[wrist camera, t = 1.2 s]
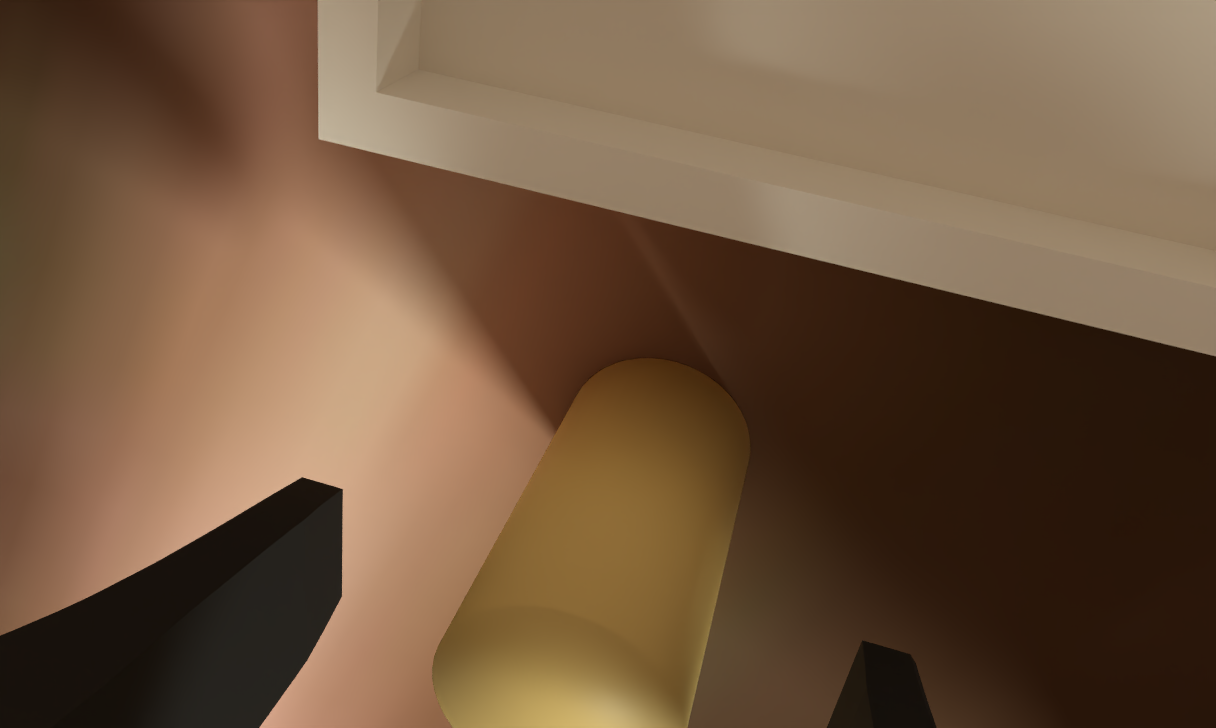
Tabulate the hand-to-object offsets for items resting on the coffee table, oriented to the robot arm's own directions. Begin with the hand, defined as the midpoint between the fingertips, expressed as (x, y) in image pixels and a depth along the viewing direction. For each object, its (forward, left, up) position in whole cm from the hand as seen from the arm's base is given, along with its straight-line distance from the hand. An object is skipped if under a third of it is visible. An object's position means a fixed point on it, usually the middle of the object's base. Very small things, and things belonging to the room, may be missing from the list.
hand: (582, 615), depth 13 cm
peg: (0, 0, -5) cm, 5 cm away
